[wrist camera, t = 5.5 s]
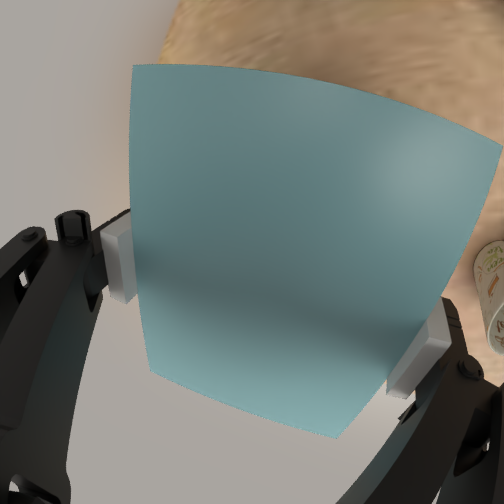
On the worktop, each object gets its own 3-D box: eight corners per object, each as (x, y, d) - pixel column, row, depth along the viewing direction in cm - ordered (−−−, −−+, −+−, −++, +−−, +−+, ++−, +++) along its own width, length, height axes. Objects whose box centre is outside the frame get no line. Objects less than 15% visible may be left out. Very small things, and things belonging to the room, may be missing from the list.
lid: (185, 66, 9) (133, 64, 7) (466, 130, 7) (503, 146, 5) (176, 334, 16) (150, 370, 13) (345, 392, 14) (336, 438, 11)
